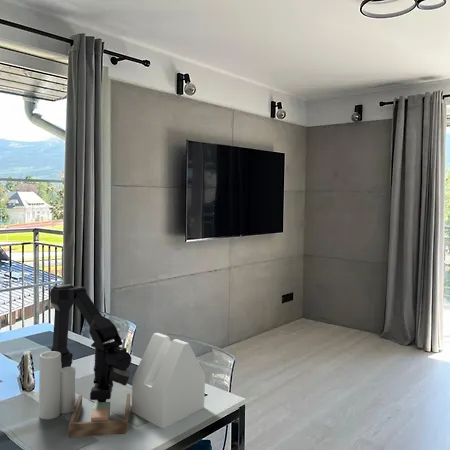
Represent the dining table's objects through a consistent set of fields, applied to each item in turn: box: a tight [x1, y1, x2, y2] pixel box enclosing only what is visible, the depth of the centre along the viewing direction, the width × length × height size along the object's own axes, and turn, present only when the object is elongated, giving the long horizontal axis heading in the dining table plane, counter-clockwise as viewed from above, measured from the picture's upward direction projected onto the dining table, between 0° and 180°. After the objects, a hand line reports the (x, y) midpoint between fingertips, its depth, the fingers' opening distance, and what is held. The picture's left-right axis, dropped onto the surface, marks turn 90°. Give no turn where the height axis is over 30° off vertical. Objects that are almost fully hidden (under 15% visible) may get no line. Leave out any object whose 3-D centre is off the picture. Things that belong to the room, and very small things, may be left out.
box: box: [68, 393, 131, 438], centre depth 143 cm, size 17×19×4 cm
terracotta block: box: [90, 409, 110, 422], centre depth 137 cm, size 5×5×5 cm
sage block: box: [92, 401, 111, 421], centre depth 142 cm, size 5×5×5 cm
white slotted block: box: [131, 332, 206, 429], centre depth 150 cm, size 19×15×25 cm
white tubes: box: [38, 350, 76, 420], centre depth 146 cm, size 11×7×20 cm, turn 140°
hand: (103, 408), depth 146 cm, fingers closed
